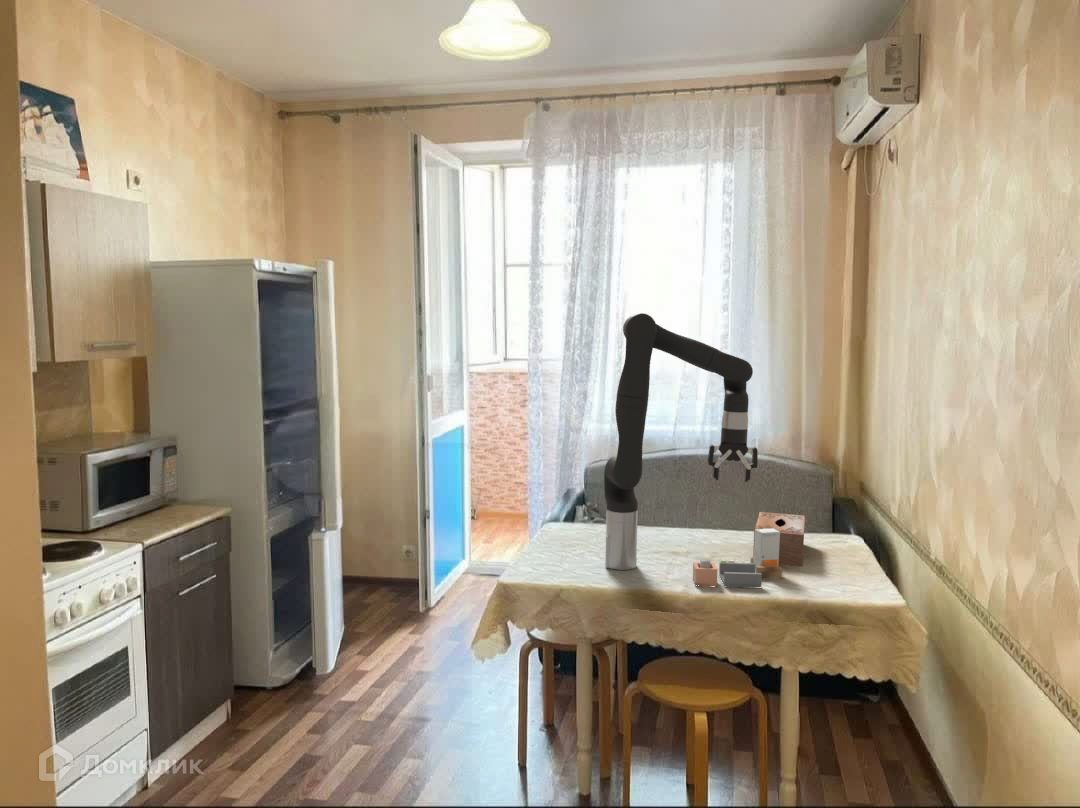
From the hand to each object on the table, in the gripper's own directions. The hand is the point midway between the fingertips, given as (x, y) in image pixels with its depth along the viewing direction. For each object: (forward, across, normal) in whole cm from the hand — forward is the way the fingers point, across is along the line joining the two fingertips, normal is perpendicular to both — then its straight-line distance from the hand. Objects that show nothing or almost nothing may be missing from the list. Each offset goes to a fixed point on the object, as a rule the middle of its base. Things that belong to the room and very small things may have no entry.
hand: (731, 480), depth 245 cm
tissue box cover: (+26, +19, +17) cm, 36 cm away
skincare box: (+25, +11, -6) cm, 28 cm away
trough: (+26, +11, -6) cm, 28 cm away
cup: (+26, -8, -17) cm, 32 cm away
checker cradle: (+26, +2, -15) cm, 30 cm away
